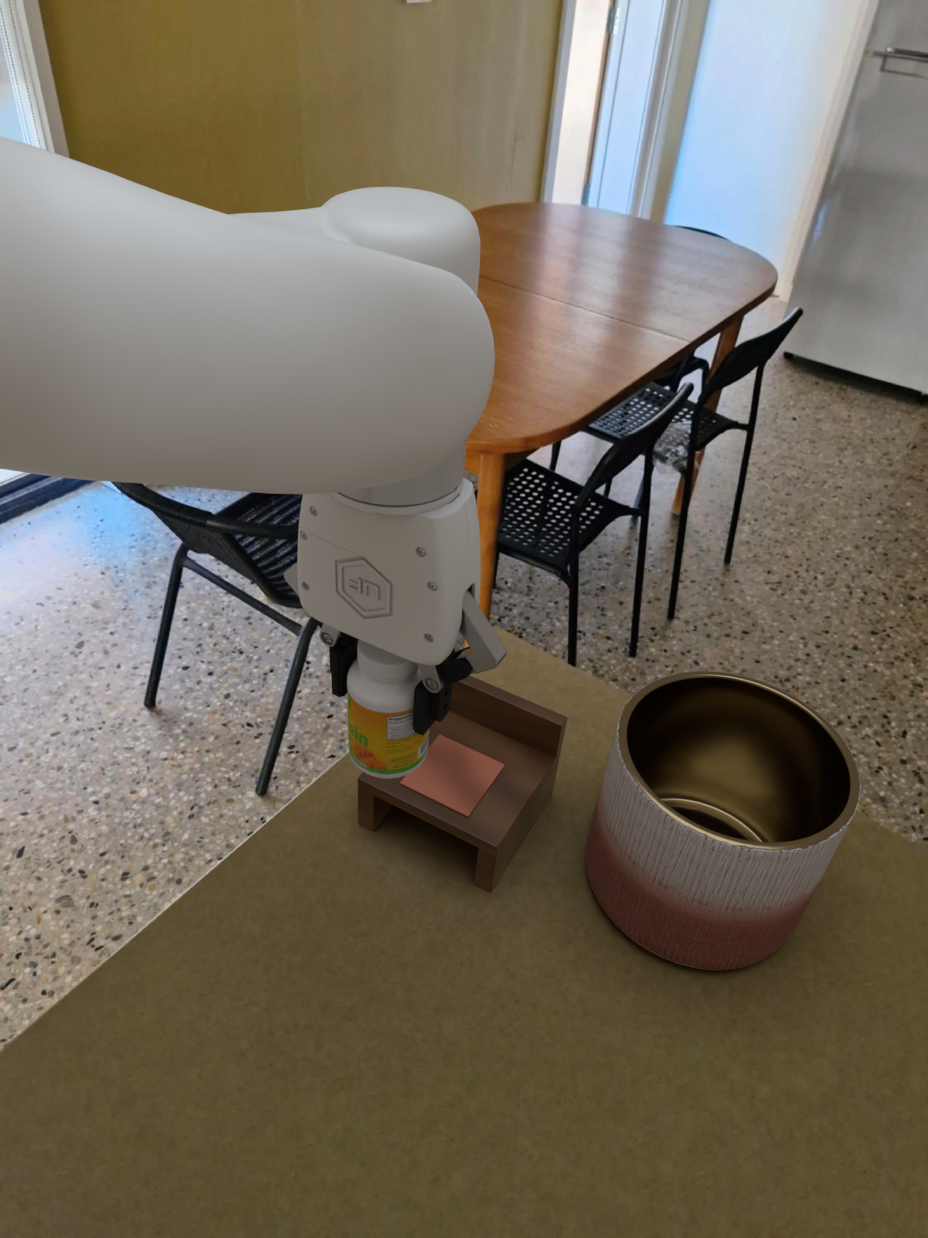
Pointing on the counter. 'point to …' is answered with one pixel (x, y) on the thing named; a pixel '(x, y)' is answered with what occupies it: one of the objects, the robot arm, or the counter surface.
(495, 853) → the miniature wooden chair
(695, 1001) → the counter surface
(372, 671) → the supplement bottle
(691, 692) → the planter
